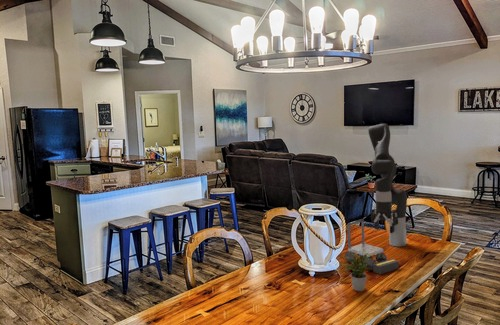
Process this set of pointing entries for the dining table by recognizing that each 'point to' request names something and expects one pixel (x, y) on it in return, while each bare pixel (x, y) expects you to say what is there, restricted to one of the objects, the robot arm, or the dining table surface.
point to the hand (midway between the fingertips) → (384, 231)
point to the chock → (385, 266)
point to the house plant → (358, 272)
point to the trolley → (364, 249)
